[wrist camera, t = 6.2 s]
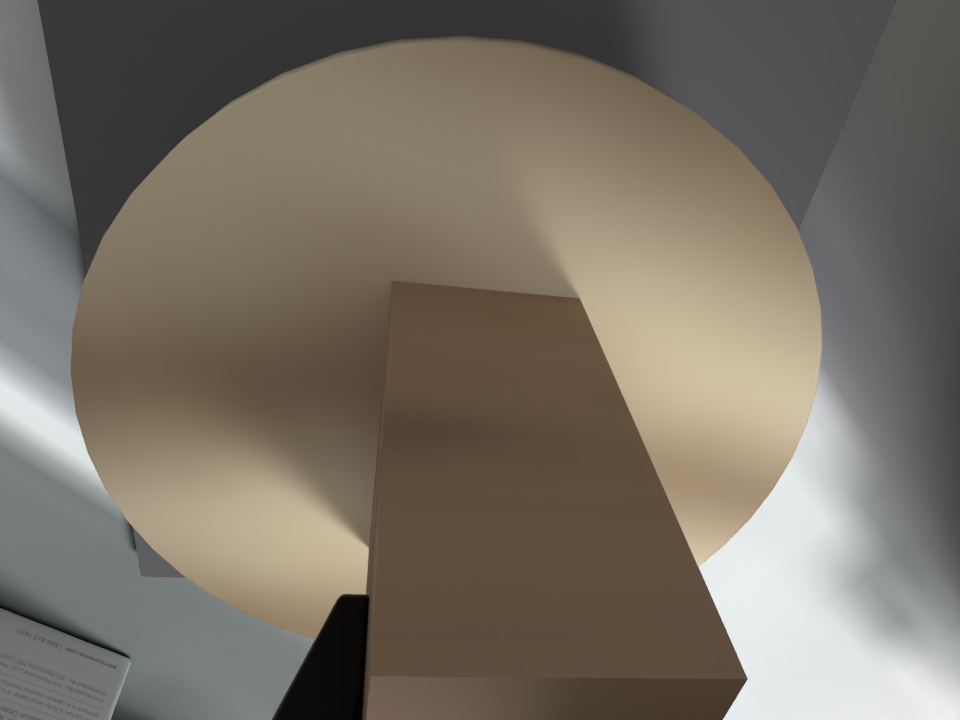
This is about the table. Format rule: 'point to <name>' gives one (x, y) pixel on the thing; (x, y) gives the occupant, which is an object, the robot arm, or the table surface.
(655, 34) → the mat
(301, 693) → the robot arm
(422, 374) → the lid
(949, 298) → the table surface
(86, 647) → the supplement box
